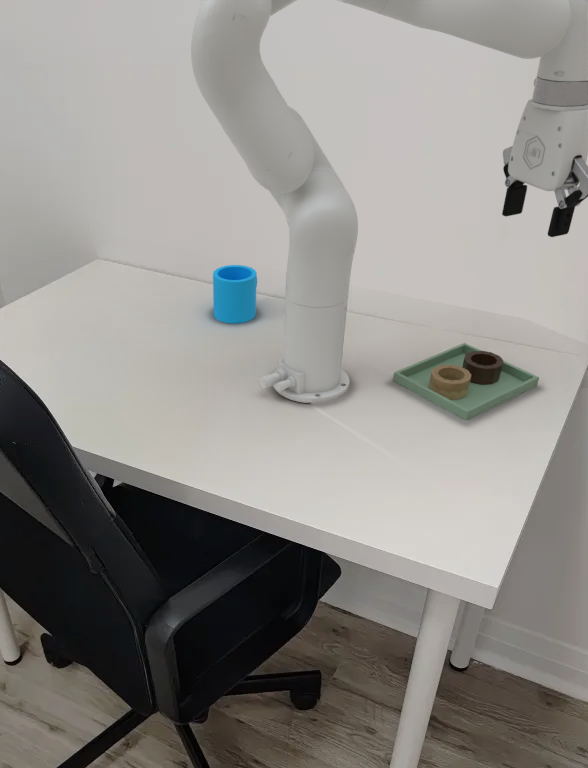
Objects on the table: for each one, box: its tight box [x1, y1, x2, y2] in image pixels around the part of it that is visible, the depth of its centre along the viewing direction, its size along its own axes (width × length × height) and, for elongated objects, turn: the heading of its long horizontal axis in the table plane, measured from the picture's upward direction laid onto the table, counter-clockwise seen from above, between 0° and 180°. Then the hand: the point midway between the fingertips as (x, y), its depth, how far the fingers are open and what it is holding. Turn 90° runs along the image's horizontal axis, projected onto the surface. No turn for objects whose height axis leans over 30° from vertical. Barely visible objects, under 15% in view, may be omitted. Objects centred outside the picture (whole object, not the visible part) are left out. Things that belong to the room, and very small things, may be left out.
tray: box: [392, 342, 540, 421], centre depth 125 cm, size 17×15×2 cm
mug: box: [212, 264, 258, 324], centre depth 147 cm, size 12×8×8 cm
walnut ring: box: [462, 350, 504, 385], centre depth 126 cm, size 6×6×3 cm
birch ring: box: [429, 365, 471, 400], centre depth 123 cm, size 6×6×3 cm
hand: (533, 224), depth 111 cm, fingers open, 9 cm apart
